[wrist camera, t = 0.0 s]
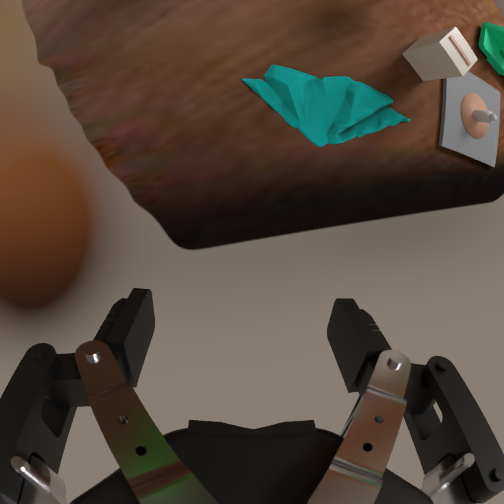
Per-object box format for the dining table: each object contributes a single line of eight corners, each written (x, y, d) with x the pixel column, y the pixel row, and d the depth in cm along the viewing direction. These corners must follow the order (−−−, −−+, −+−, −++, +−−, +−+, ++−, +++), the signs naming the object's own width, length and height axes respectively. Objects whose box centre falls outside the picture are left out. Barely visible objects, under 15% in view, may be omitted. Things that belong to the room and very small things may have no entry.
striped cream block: (401, 53, 31) (440, 41, 21) (418, 38, 29) (456, 26, 20) (423, 81, 33) (464, 76, 23) (438, 65, 31) (479, 59, 22)
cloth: (225, 114, 35) (224, 113, 33) (258, 30, 30) (260, 25, 28) (386, 180, 40) (393, 183, 38) (413, 105, 35) (421, 104, 33)
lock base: (443, 60, 31) (466, 55, 25) (496, 92, 32) (518, 93, 26) (438, 145, 37) (462, 150, 31) (491, 166, 38) (512, 173, 33)
